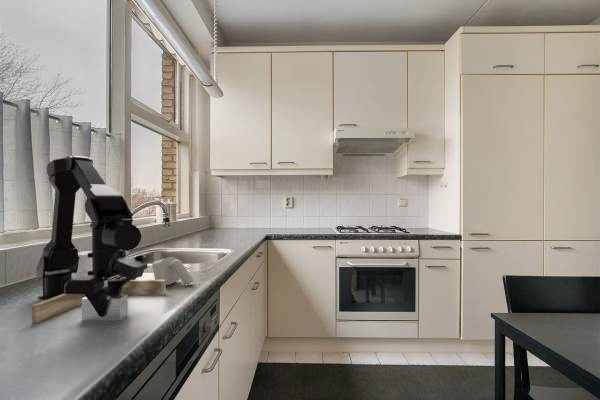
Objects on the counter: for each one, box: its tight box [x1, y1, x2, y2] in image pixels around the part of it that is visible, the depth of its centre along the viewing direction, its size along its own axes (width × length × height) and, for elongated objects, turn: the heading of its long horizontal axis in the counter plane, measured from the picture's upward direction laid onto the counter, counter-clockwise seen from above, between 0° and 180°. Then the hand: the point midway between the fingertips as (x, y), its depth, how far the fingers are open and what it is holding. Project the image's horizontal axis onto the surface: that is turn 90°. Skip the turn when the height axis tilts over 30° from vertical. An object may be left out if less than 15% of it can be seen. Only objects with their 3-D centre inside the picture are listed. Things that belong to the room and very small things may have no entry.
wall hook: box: [151, 256, 194, 286], centre depth 102 cm, size 8×10×10 cm
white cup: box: [72, 250, 92, 279], centre depth 107 cm, size 8×8×10 cm
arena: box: [31, 279, 167, 324], centre depth 81 cm, size 20×23×4 cm
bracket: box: [81, 295, 129, 322], centre depth 74 cm, size 9×6×5 cm, turn 88°
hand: (107, 313), depth 73 cm, fingers open, 3 cm apart
